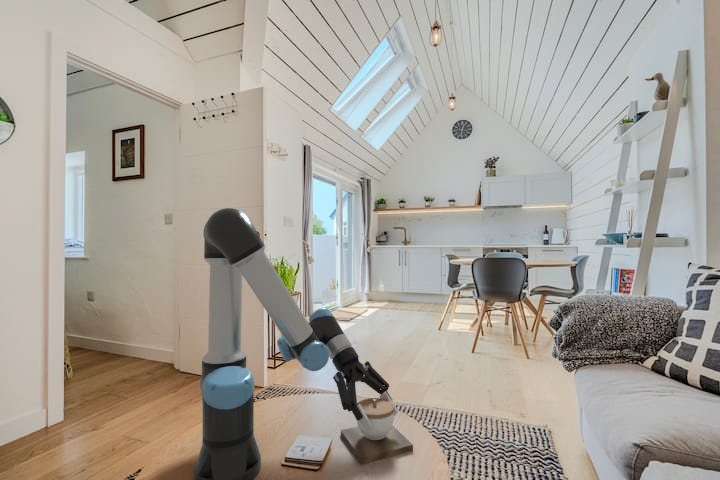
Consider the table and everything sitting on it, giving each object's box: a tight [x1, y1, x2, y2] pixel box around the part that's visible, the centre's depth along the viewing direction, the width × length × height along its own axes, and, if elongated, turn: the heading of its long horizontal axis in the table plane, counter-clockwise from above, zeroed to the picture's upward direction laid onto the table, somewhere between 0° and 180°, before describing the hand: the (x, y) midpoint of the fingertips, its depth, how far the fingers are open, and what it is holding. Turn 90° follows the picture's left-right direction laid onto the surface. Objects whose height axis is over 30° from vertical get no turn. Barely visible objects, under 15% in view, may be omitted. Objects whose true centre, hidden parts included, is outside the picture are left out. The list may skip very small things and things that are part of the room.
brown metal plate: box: [340, 425, 414, 465], centre depth 96 cm, size 15×15×2 cm
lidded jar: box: [356, 397, 395, 440], centre depth 96 cm, size 11×11×9 cm
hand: (383, 422), depth 94 cm, fingers closed on lidded jar, 11 cm apart
